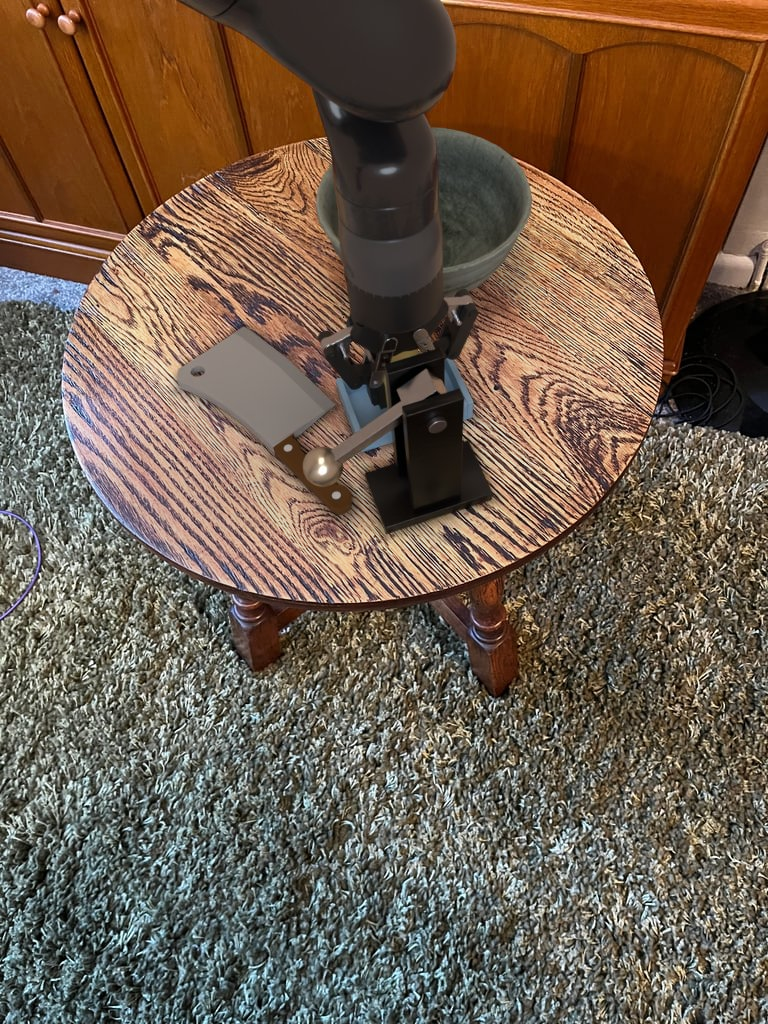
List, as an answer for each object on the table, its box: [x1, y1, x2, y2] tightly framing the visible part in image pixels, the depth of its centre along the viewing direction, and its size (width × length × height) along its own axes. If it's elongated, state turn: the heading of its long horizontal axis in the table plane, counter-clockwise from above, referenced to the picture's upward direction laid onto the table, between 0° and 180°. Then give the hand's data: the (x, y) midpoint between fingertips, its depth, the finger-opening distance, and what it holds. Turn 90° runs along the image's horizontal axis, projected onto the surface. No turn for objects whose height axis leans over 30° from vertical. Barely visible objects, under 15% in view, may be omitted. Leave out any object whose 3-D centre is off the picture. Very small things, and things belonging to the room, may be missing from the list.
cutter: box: [364, 348, 494, 535], centre depth 62 cm, size 10×6×16 cm, turn 108°
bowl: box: [315, 126, 533, 297], centre depth 78 cm, size 21×21×10 cm
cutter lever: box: [303, 369, 447, 487], centre depth 59 cm, size 13×3×3 cm
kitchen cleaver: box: [177, 326, 353, 516], centre depth 74 cm, size 24×1×10 cm
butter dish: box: [335, 352, 474, 453], centre depth 73 cm, size 11×7×2 cm, turn 108°
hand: (403, 393), depth 72 cm, fingers closed on butter pat, 4 cm apart
